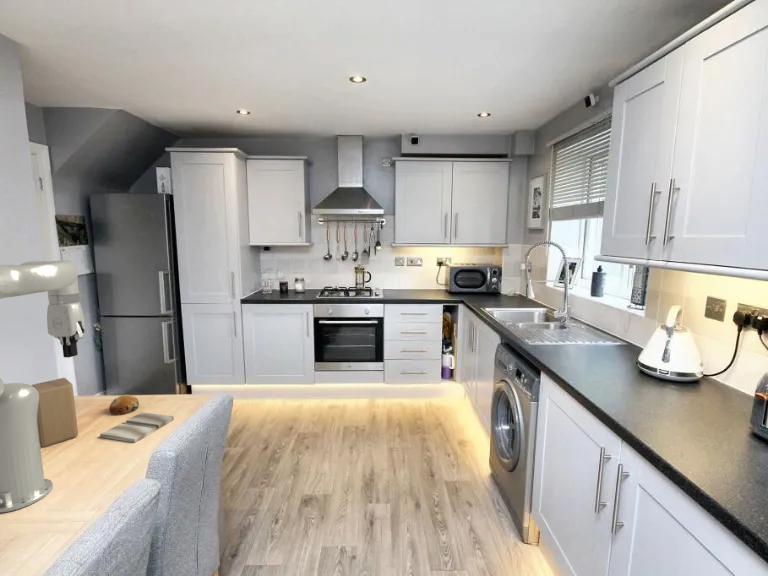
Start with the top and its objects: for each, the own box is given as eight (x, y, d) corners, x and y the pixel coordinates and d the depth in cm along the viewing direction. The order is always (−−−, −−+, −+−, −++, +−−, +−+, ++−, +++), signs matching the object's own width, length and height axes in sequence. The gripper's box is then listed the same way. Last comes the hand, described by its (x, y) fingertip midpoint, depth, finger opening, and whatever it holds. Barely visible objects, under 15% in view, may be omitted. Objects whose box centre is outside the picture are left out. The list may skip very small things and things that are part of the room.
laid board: (157, 429, 139) (157, 425, 139) (124, 425, 143) (124, 421, 143) (173, 419, 147) (173, 416, 146) (142, 415, 150) (141, 412, 150)
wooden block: (71, 428, 141) (65, 376, 138) (79, 437, 134) (72, 382, 132) (35, 439, 133) (28, 384, 130) (41, 449, 127) (34, 391, 124)
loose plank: (134, 442, 130) (134, 438, 130) (100, 437, 134) (100, 433, 134) (156, 430, 139) (156, 426, 139) (123, 425, 142) (123, 422, 142)
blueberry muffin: (136, 412, 162) (131, 394, 163) (145, 407, 156) (139, 389, 157) (109, 421, 154) (104, 402, 155) (117, 416, 148) (112, 397, 149)
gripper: (33, 300, 118) (40, 358, 120) (70, 302, 114) (76, 361, 116) (59, 297, 125) (65, 351, 127) (94, 298, 121) (100, 354, 124)
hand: (70, 356), depth 122 cm, fingers closed
